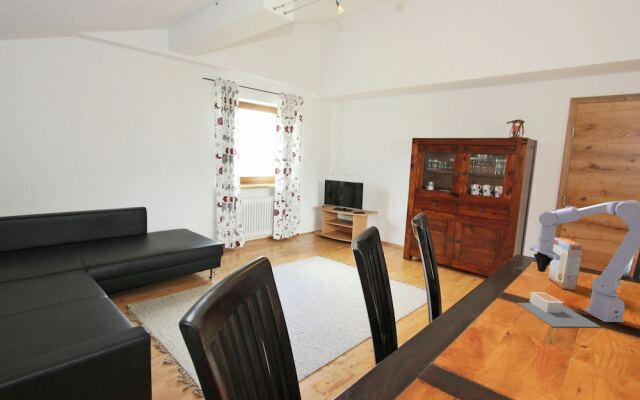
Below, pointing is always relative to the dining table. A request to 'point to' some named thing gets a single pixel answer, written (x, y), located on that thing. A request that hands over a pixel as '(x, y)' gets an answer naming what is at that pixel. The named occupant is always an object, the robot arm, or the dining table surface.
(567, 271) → the cracker box
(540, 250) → the robot arm
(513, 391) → the dining table surface
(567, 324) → the mat
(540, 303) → the marked block
